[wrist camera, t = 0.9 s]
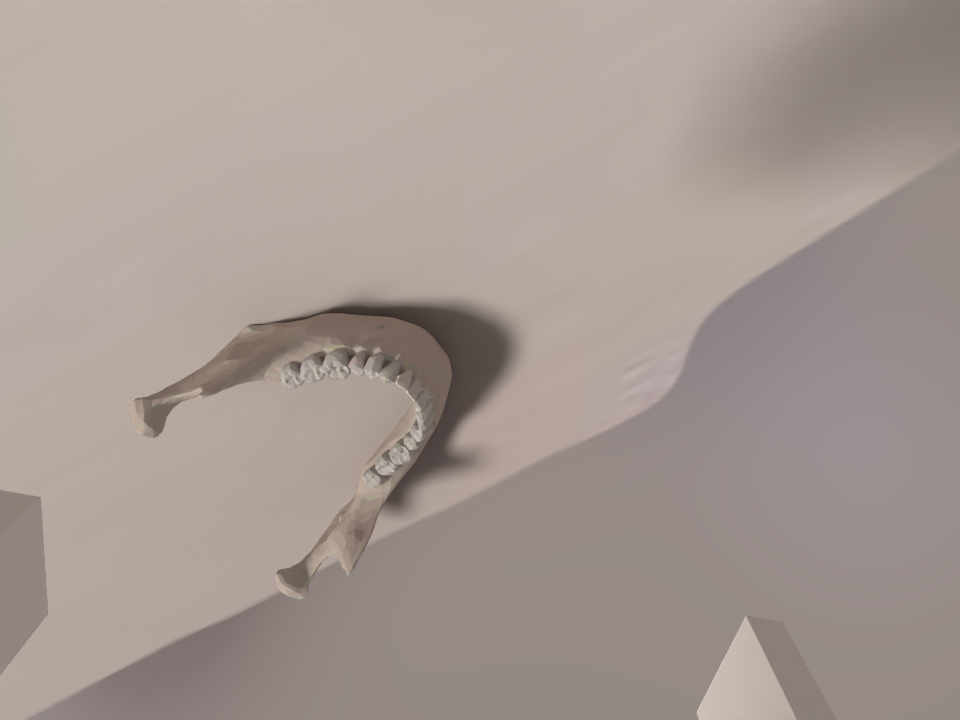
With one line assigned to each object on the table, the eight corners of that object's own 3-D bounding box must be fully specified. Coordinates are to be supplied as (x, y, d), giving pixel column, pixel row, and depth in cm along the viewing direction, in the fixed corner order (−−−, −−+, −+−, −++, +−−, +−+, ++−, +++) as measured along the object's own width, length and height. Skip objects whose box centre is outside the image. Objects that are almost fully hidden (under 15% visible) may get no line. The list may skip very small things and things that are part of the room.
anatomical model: (517, 435, 35) (447, 591, 28) (375, 470, 41) (287, 605, 34) (379, 231, 31) (251, 352, 23) (243, 304, 37) (106, 419, 29)
